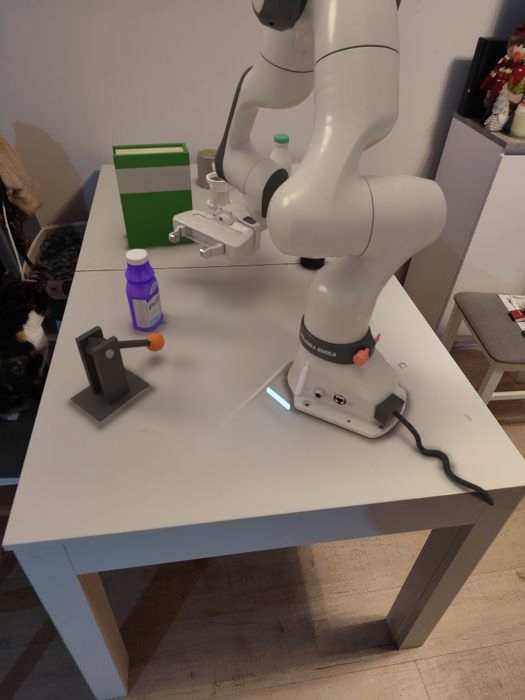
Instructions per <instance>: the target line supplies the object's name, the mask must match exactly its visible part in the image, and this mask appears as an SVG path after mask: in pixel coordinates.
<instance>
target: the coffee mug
mask: <svg viewBox="0 0 525 700" xmlns="http://www.w3.org/2000/svg"><path fill="white" fill-rule="evenodd" d="M217 149H218V147H205V148H200V149H199V150H197V151H196V166H197V167H196V169H197V183H198V185H199V187H202V188H204V189H206V188H207V189H209V186H210V184H209V183H207V181H206V176H207V175H208V174H210V173H213V172H216V170H215V155H216V152H217ZM210 179H211V180H213V181H222V179H221V178H219V177H212V178H210Z"/></svg>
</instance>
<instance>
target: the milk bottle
mask: <svg viewBox="0 0 525 700" xmlns="http://www.w3.org/2000/svg"><path fill="white" fill-rule="evenodd" d="M289 144H290V136H289V135H288V134H286V133H276V134H274V135H273V148H272V150H271V152H270V155H269V156H268V157H269V158H271V159H272V160H274V161H275V162H277V163H278V164H279V165H281V166H282V167H283V168H284V169H286V170H287V172H288V175H289V177H290V176H291V175H292V171H293V170H292V168H293V167H292V165H293V163H292V158H291V154H290V151H289Z"/></svg>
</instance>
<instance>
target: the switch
mask: <svg viewBox="0 0 525 700" xmlns="http://www.w3.org/2000/svg"><path fill="white" fill-rule="evenodd" d="M107 339H108V338H105V336H104V337H90V338H89V339H88V343H87V347H86V352H88V353H89V354H91V355H92V352H91V349H92V348H94V347H95V346H97V345H99V344H100V343H102V342H104V341H105V340H107ZM165 342H166V341H165V338H164V336H163V335H162V334H161V333H160V332H151V333H149V334H148V335H147V336H145V338H142V339H129V340H128V339H127V340H118V343H119V347H120V350H121V349H134V348H142V347H143V348H145V347H146V348H147V350H148V351H150V352H153V353H154V352H155V353H156V352H160V351H161V350H163V348H164V347H165V344H166V343H165ZM92 356H93V355H92Z"/></svg>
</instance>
